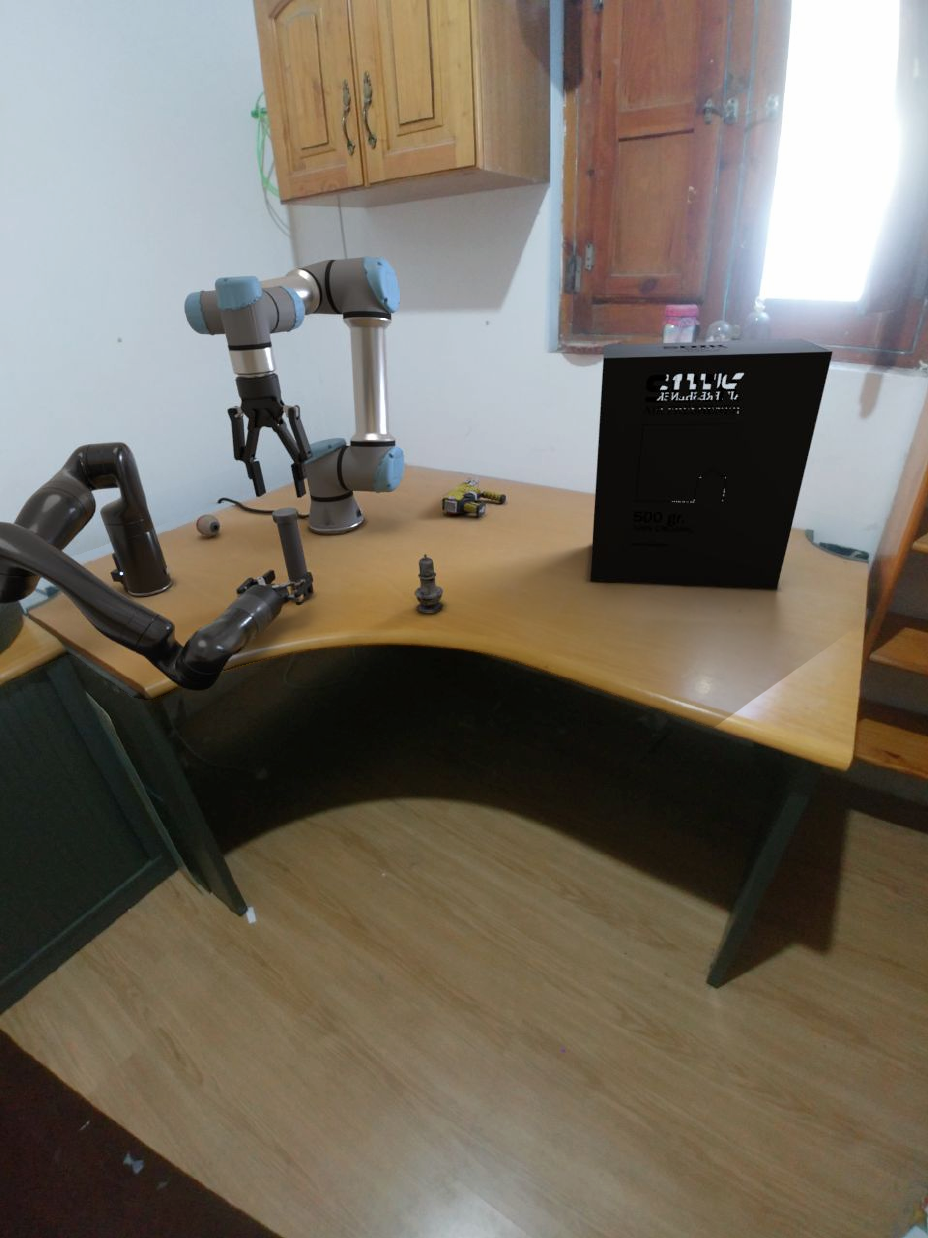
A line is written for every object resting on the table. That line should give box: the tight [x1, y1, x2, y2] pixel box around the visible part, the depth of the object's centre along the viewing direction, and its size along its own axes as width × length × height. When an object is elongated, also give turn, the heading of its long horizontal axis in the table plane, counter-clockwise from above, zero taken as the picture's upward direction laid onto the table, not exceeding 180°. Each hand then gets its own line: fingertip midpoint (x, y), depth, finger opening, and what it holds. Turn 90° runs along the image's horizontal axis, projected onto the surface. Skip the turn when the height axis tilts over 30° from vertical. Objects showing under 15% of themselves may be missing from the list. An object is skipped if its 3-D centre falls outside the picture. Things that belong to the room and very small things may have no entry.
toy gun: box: [441, 477, 507, 518], centre depth 177 cm, size 5×24×15 cm
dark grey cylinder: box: [276, 520, 313, 601], centre depth 127 cm, size 4×4×19 cm
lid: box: [271, 507, 300, 525], centre depth 123 cm, size 5×5×2 cm
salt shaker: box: [413, 553, 444, 614], centre depth 122 cm, size 6×6×12 cm
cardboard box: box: [589, 338, 834, 590], centre depth 125 cm, size 38×20×45 cm, turn 78°
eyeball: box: [196, 514, 221, 538], centre depth 165 cm, size 6×6×6 cm
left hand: (291, 574), depth 127 cm, fingers open, 8 cm apart
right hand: (281, 494), depth 121 cm, fingers open, 8 cm apart
